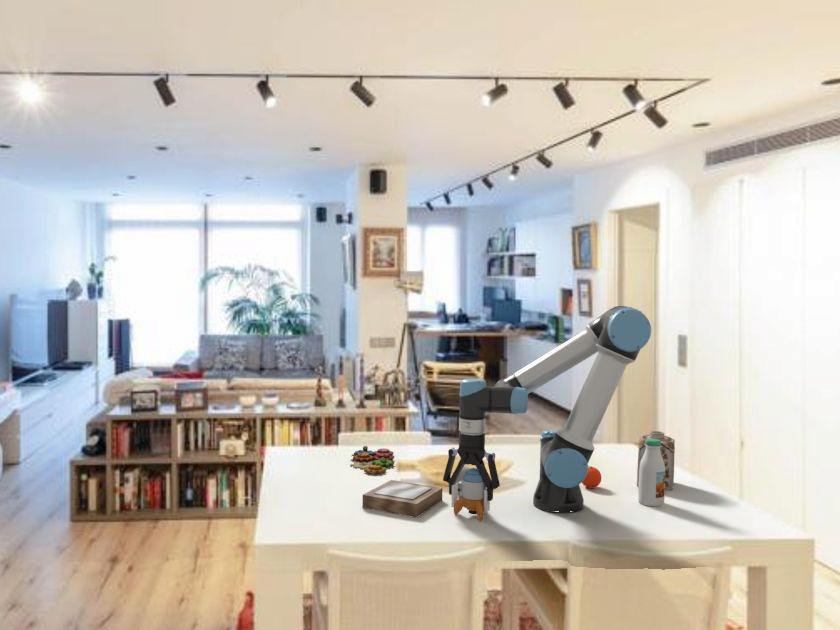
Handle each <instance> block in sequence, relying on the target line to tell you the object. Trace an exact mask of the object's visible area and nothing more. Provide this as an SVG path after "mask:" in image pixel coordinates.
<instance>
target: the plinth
mask: <svg viewBox="0 0 840 630" xmlns="http://www.w3.org/2000/svg"><path fill="white" fill-rule="evenodd" d="M442 501H443V487H439V486H433V485H428V484H427V485H425V484H419V483H414V482H413V483H412V482H407V481H401V480H395V479H390V480H388V481H386V482H385V483H383V484H381V485H379V486H377V487H375V488H373V489H371V490H369V491H368V492H365V493H363V494H362V507H361V508H362V509H367V510H372V511H378V512H384V513H387V514H394V515H399V514H401V515H400V516H405V515H406V517H410V516H412V517H413V518H416V517H417V518H418V517H420V516H421V515H423V514H424V513H426V512H427V511H428V510H430V509H433V507H435V506H436V505H438V504H439V503H441V502H442ZM422 513H423V514H422ZM419 515H420V516H419Z"/></svg>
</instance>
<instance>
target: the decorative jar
mask: <svg viewBox="0 0 840 630" xmlns="http://www.w3.org/2000/svg"><path fill="white" fill-rule="evenodd" d="M648 438H654V439H659V440H661V447H660V453H661V456H662V458H663V461H664V464H665V491H674V480H675V479H674V478H675V477H674V476H675V453H676V451H675V442H676V441H675V439H674V438H672V437H670V436H667V435H665V432H663V431H660V430H658V431H657V430H651V431H649V434H644V435H640V436H639V440H638V447H637V448H638V454H637V472H636V487H637V488H639V468H640V462H641V459H642V457H643V455H644V453H645V450H646V446H645V445H646V444H645V440H646V439H648Z"/></svg>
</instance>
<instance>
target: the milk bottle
mask: <svg viewBox="0 0 840 630" xmlns="http://www.w3.org/2000/svg"><path fill="white" fill-rule="evenodd" d="M645 444H646V445H645V446H646V450H645V453H644V455H643V457H642V459H641V462H640V468H639V487H638V495H637V496H638V497H637V500H638V503H640V505H644V506H647V507H662V506H664V504H665V493H666V492H665V491H666V490H665V464H664V461H663V458H662V456H661V453H660V447H661V440H659V439H654V438H648V439H646V440H645Z"/></svg>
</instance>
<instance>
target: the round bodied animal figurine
mask: <svg viewBox="0 0 840 630" xmlns="http://www.w3.org/2000/svg"><path fill="white" fill-rule="evenodd" d="M469 469H471V468H470V467H469V466H467V465H466V466H465V465H464V467H463V469H462V471H461V472H460V474H459V476H458V478H457V479H456V482H455V483H458V499H460V498H462V497H463V493H462V483H463V478H464V475H465V473H466V471H467V470H469ZM454 471H455V469H454V470H453V471H452V474H453V473H454Z"/></svg>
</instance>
